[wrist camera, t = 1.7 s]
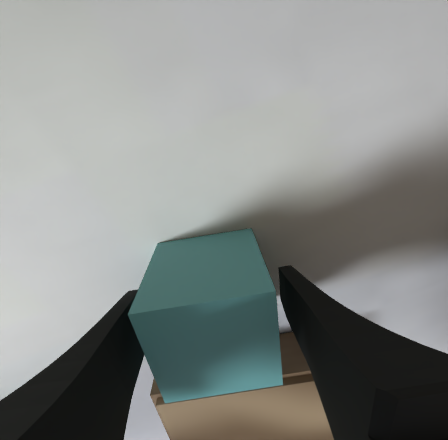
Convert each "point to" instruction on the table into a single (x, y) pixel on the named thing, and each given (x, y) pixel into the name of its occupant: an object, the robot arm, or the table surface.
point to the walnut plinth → (253, 408)
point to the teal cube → (208, 317)
